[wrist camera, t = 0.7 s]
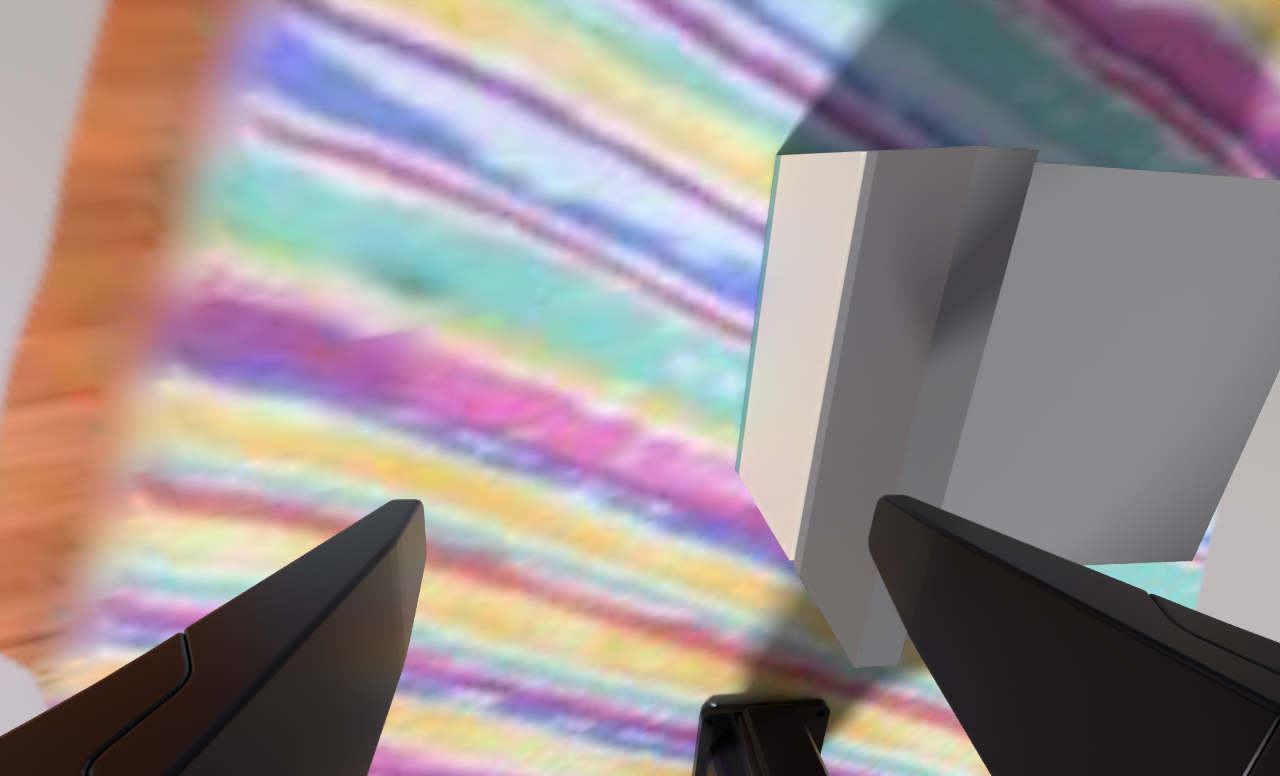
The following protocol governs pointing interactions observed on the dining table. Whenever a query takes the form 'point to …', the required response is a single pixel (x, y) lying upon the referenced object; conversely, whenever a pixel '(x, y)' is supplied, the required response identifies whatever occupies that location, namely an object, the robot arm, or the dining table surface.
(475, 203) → the dining table surface
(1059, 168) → the lid
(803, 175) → the box
